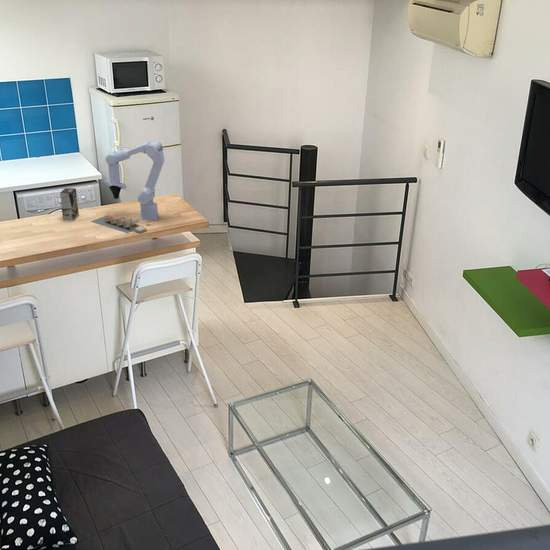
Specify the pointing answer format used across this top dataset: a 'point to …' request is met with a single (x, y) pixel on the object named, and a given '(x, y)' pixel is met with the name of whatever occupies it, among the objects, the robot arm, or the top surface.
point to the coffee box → (69, 204)
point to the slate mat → (113, 226)
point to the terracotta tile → (111, 218)
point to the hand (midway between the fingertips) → (116, 198)
